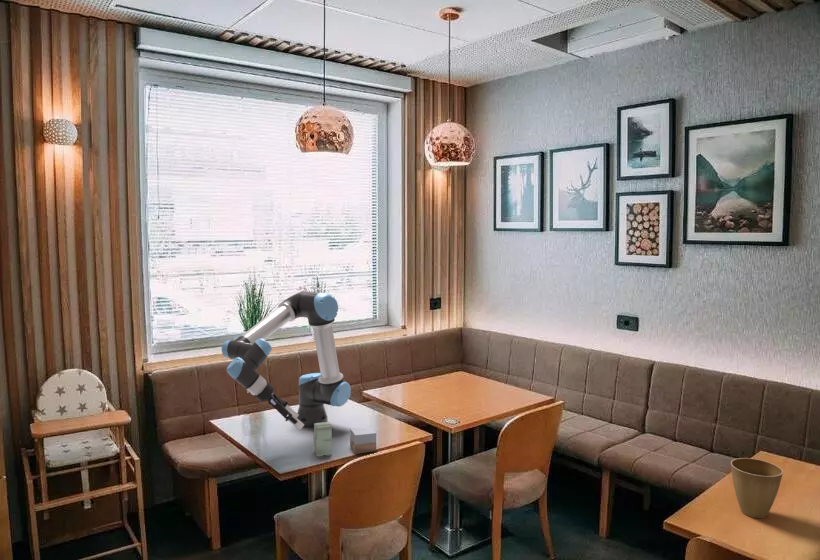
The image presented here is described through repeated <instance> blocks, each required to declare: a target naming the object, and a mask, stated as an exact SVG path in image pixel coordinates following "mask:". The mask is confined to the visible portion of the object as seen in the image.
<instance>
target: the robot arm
mask: <svg viewBox="0 0 820 560" xmlns="http://www.w3.org/2000/svg"><path fill="white" fill-rule="evenodd" d="M337 301H338V300H337V299H336V298H335V296H333V295H331V294H329V293H326V292H315V291H300V292H297V293H295V294H292V295H290V296H289V297H287V298H286V299H284V300H282V301H281V302H280V303H279V304H278V305H277V306H278V307H277V308H276V309H275V310H273V311H272V312H271V313H269V314H268V315H267V316H265V317H264V318H262V319H261V320H260V321H258V322H257V323H255V324H254V325H253V326H252V327H251V328H249V329H248V330H247V331H245V332H244V333H242V334H241V335H239V336H238V337H237V338H236V339H230V340H229V339H228V340H226V341H224V342H223V344H222V345H221V353H222V356H223V357H225V358H226V359H229V360H232V361H231V362H230V363H229V364H228V366H227V367H226V373H227V374H228V375H229V376H230V377H231V378H232V379H233V380H235V381H236V382H237V383H238V385H241V387H243V388H244V389H245V390H246V392H247V394H249V393H250V394H251V395H252V396H254V398H256V399H257V400H258V401H259V402H260V403H263V402H265V401H267V403H268V405H270V406H271V407H273V408H274V409H275V410H276V411H277V412H278V413H279V414H280V415H281V416H282V417H283V418H284V421H285V422H289V423H290V424H292V425H293V426H294V427H295V428H297V430H299V431H301V430H302V428H303V427H308V428H309V427H314V423H323V422H329V421H328V418H329V417H328V414H327V411H326V408H325V405H327V406H332V407H339V408H340V407H342V406H344V405H346V403H347V402H348V401H349V399H350V396H351V393H352V388H351V385H350V383H348V382H347V381H345V378H344V374H343V373H341V372H340V367H339V360H338V355H337V348H336V347H337V346H336V342H335V335H334V329H333V328H334V327H333V323H334V322H335V320H336V319H335V318H337V316H338V312H339V303H338V302H337ZM298 318H307V320H308V321H307V322H308V326H310V327H311V328H312V329H313V331H312V332H313V335H314V337H313V338H314V342H315V343H314V344H315V348H316V354H317V360H318V365H319V372H314V373H312V372H311V373H306V374H303V375H301V376H300V377H299V378H298V409H297V411H295V410H294V409H293V408H292V407H290V405H288V404H289V403H288V402H287V401H285V400H283V399H282V398H280V397H279V396H278V395H277V394H276V393H274V391H275V387H274V386H273V385H272V384H271V383H269V382H267V380H266V379H265V377H263V376H262V375H261V374H259V373H258V372H257V370H258V369H259V368H260V366H261V365H263V363H264V362H265V360H266V359H268V357H269V356H270V354H271V352H272V350H273V349H272V346H271V344H270V343H269V342H268V341H267V338H269V337H270V336H271V335H273V334H275V332H276V331H278V330H279V329H281V328H282V327H283V326H285V325H286V324H287V323H288V322H293V321H295V320H296V319H298Z"/></svg>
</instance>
